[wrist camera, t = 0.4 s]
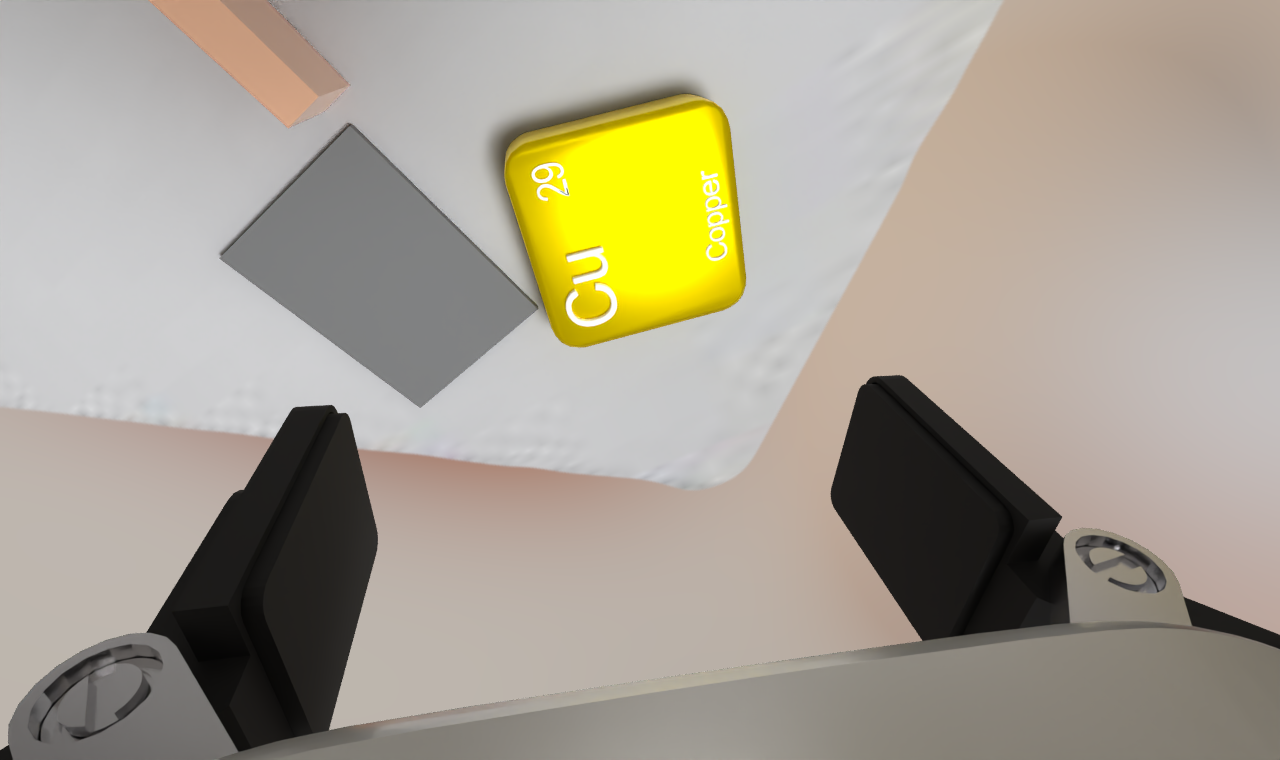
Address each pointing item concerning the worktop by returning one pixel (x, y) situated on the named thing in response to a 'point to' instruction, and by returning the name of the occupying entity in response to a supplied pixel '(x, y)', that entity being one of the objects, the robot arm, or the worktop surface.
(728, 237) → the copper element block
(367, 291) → the mat
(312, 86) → the block
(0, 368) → the worktop surface
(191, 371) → the worktop surface
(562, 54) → the worktop surface
